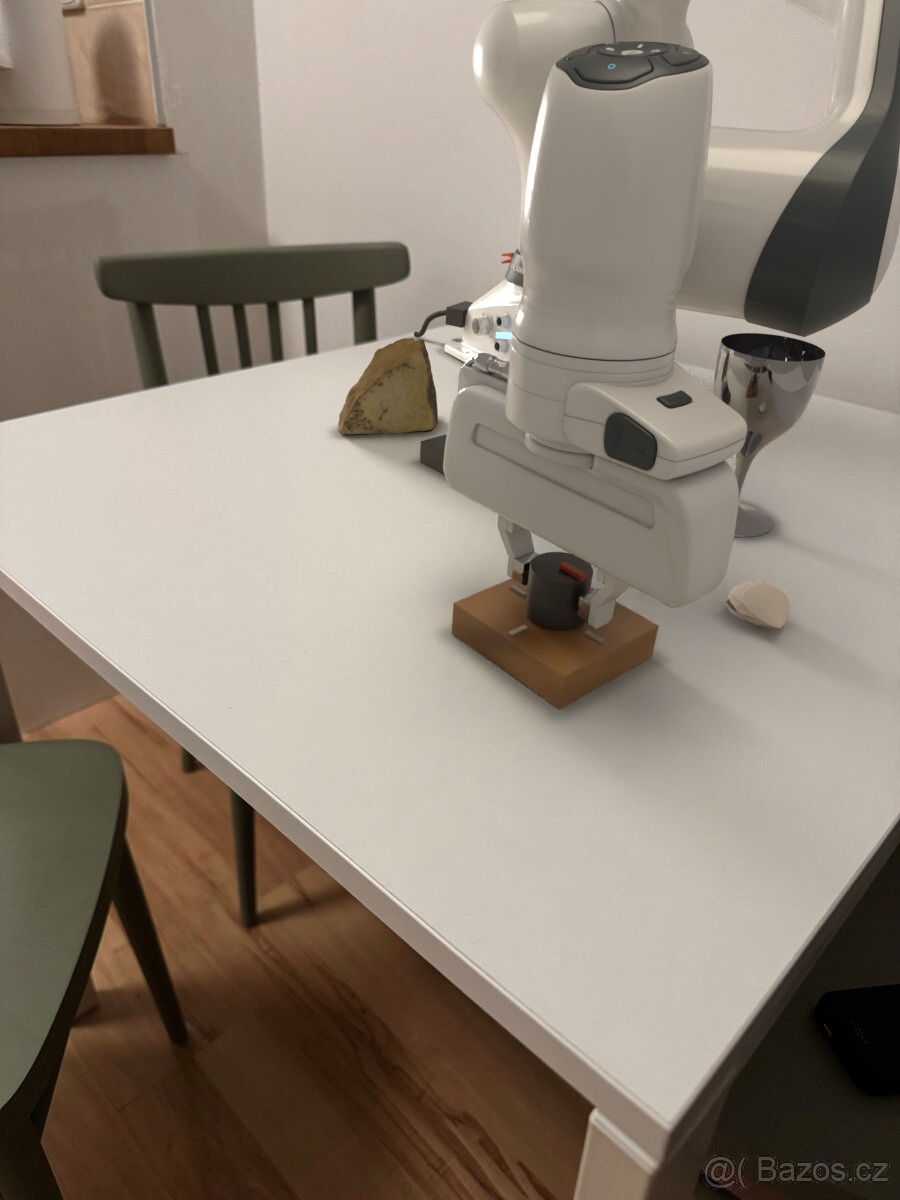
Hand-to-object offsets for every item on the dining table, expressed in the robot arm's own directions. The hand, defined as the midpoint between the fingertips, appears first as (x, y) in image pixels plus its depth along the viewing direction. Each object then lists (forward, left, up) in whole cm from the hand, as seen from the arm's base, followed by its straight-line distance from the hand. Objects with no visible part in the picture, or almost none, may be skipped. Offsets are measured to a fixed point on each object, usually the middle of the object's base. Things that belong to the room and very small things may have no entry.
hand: (557, 599), depth 54 cm
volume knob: (0, 0, -1) cm, 1 cm away
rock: (-38, +15, -4) cm, 41 cm away
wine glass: (-4, +27, -4) cm, 28 cm away
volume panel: (0, 0, -4) cm, 4 cm away
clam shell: (+7, +14, -4) cm, 16 cm away
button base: (-23, +17, -4) cm, 29 cm away
